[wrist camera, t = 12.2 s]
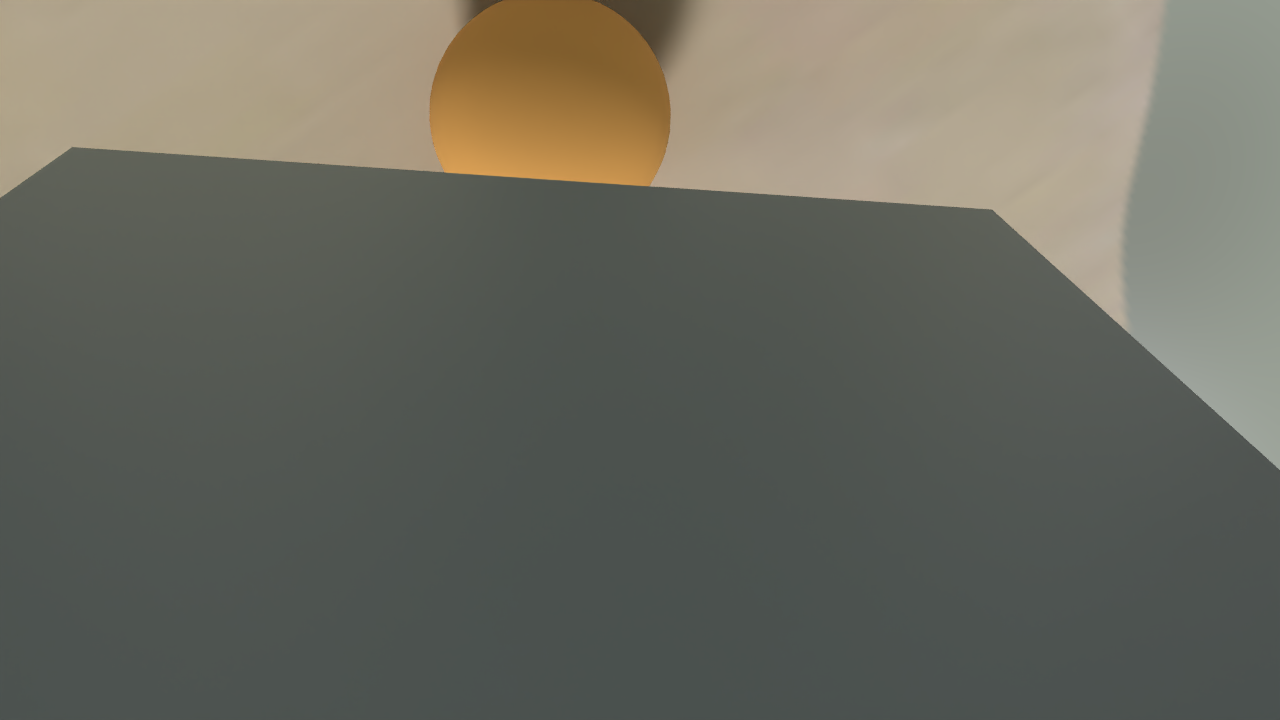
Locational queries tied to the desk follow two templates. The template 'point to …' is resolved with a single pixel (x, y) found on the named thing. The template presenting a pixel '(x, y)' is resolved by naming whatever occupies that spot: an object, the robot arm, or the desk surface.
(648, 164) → the ball
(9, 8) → the desk surface
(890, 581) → the slate gray cube
